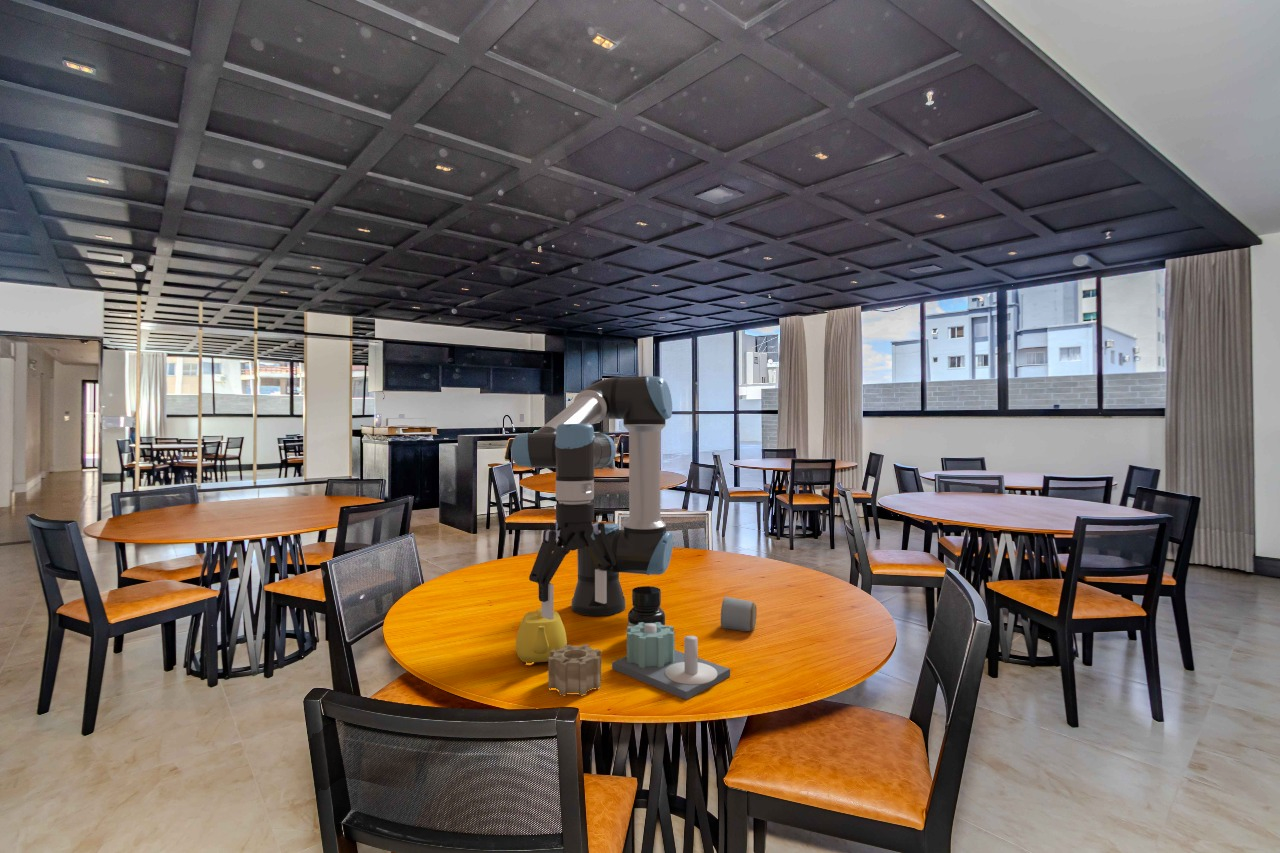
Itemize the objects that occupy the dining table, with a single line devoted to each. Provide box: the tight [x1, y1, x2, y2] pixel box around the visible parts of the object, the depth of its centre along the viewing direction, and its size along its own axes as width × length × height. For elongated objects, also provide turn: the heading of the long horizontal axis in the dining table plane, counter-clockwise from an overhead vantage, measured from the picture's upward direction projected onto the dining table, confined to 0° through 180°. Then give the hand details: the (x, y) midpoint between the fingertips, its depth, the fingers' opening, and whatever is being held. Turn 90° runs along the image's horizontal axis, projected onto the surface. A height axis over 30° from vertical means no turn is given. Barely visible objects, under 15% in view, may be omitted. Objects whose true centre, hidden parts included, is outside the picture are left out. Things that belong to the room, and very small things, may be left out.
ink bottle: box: [627, 585, 666, 627], centre depth 137 cm, size 10×9×12 cm
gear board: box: [611, 622, 731, 701], centre depth 118 cm, size 21×14×8 cm, turn 46°
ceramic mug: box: [720, 596, 758, 632], centre depth 146 cm, size 11×8×8 cm
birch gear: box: [547, 644, 602, 696], centre depth 113 cm, size 10×10×6 cm
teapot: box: [515, 608, 568, 663], centre depth 126 cm, size 18×11×11 cm, turn 9°
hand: (575, 609), depth 113 cm, fingers open, 13 cm apart
